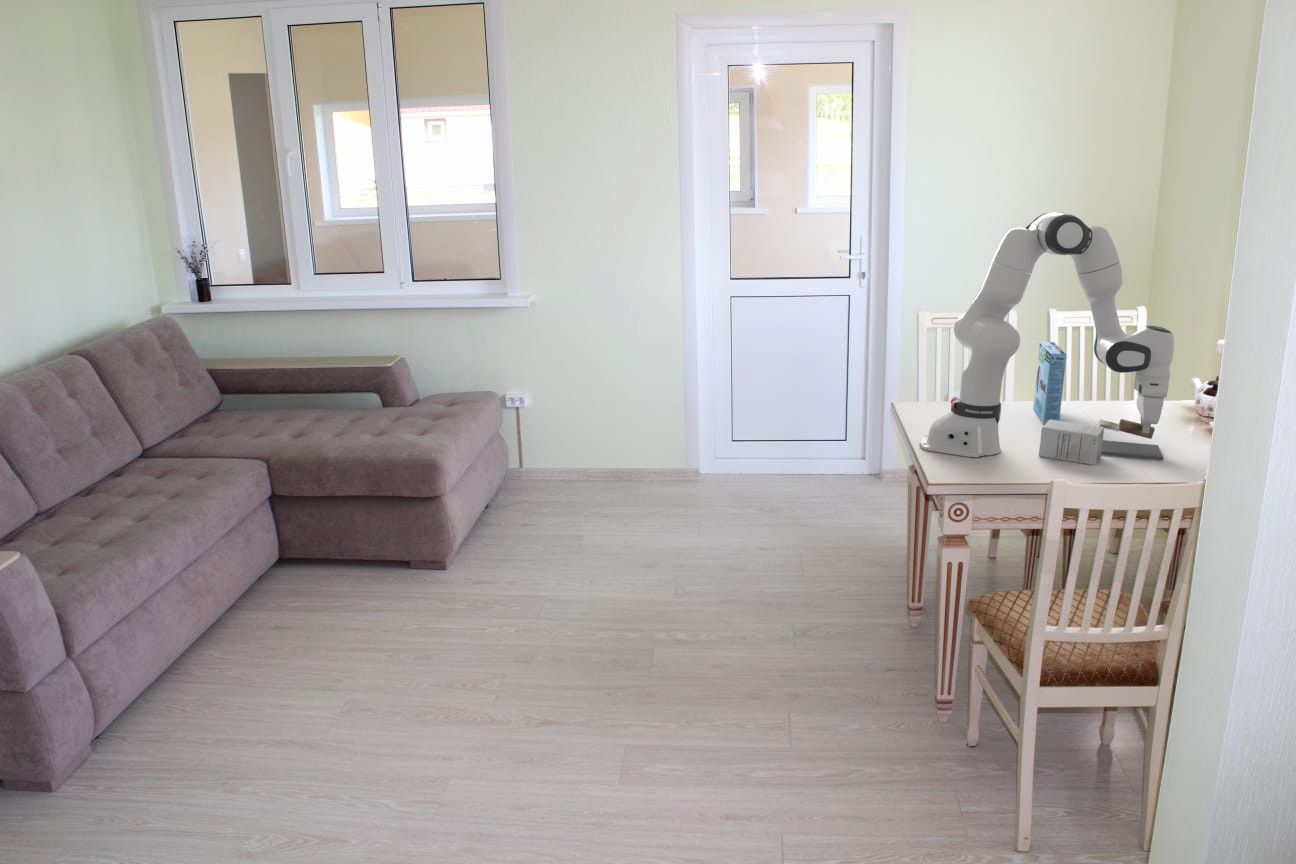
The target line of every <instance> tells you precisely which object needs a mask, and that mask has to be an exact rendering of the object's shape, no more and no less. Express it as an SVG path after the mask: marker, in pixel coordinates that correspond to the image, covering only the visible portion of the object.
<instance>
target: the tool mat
mask: <svg viewBox="0 0 1296 864" xmlns="http://www.w3.org/2000/svg"><path fill="white" fill-rule="evenodd" d="M1101 456H1110V457H1122V458H1131V459H1140V460H1141V459H1142V460H1151V461H1152V460H1153V461H1161V460H1164V455H1163V453H1162V451H1161V448H1160V446H1159V445H1158V444H1150V443H1137V442H1128V441H1115V440H1107V439H1106V440H1105V439H1103V441H1102V448H1101Z"/></svg>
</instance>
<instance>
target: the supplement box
mask: <svg viewBox="0 0 1296 864" xmlns="http://www.w3.org/2000/svg"><path fill="white" fill-rule="evenodd" d="M1104 431H1105V428H1104V427H1100V425H1099V426H1097V425H1092V424H1084V423H1075V422H1071V421H1070V422H1069V421H1061V420H1059V421H1056V420H1049V421H1048V422H1047V423H1045V424H1043V426H1042V427H1041V431H1040V442H1039V448H1038V449H1039V450H1038V456H1039V457H1042V456H1043V458H1048V457H1049V458H1050V459H1054V458H1055V459H1056V460H1060V459H1061V460H1062V461H1066V460H1067V462H1072V461H1074V462H1073V463H1078V462H1081V463H1080V464H1084V463H1086V465H1090V466H1094V465H1096V464H1097V462H1098V461H1099V459H1100V458H1101V456H1102V455H1101V448H1102V441H1103V440H1104Z"/></svg>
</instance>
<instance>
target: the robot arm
mask: <svg viewBox="0 0 1296 864" xmlns="http://www.w3.org/2000/svg"><path fill="white" fill-rule="evenodd" d="M1108 231H1109V230H1107V229H1106V228H1104V227H1101V226H1097V225H1096V226H1094V225H1093V226H1088V225H1086V223H1085V222H1084V221H1082V219H1080V218H1079V217H1077V216H1076V215H1072V214H1068V213H1067V214H1066V213H1064V212H1047V213H1043V214H1041V215H1039V216H1036V217H1035V218H1034V219H1033V220H1032V221H1031V222H1030V223H1029V224H1028V225H1027V226H1026V227H1025V228H1023V227H1016V228H1012V229H1010V230H1008V231H1007V233H1006V234H1005V235H1004V236H1003V238H1002V239H1001V242H1000V243H999V246H998V247H997V249H996V251H995V253H994V255H993V257H992V259H991V260H992V261H991V263H990V266H989V268H988V270H987V273H986V276H985V279H984V281H983V283H982V285H981V288H980V290H979V292H978V294H977V295H976V297H975V298H974V300H973V302H972V303H971V304H970V305H969V307H968V308H967V310H966V311H965V312H964V313H962V314H961V315H960V316H959V317H958V318H957V319H956V321H955V323H954V326H953V333H954V336H955V339H956V340H958V342H959V343H960V344H961V345H962V346H963V347H965V348H966V349H968V350H970V351H971V355H970V356H971V357H970V360H969V363H968V365H967V367H966V368H965V370H963V372H962V374H961V379H960V389H959V398H957V397H954V396H953V397H952V398H951V399H950V404H951V406H950V411H949V412H948V413H946V414H945V415H942V416H941V417H940V418H938V419H936V420H934V421H933V423H932V424H931V426H930V428H929V431H928V434H926V435H924V436H922V438H920V441H919V446H920V448H921V449H922V450H924V451H928V452H937V453H941V454H948V455H954V456H960V457H961V456H962V457H967V458H973V457H974V459H975V458H980V456H981V457H984V455H985V456H992V455H996V454H999V453H1000V452H1001V451H1002V449H1001V444H1000V437H999V422H1000V420H1001V414H1002V403H1001V402H1000V400H1001V393H1002V385H1003V384H1002V383H1003V378H1004V373H1005V370H1006V368H1007V365H1008V363H1009V361H1010V359H1011V357H1013V356H1014V355H1015V354H1016V353H1017V352H1018V349H1019V348H1020V345H1021V337H1020V334H1019V331H1018V330H1017V329H1016V328H1015V327H1014V326H1013V325H1012V324H1011V323H1010V322H1008V321H1006V317H1007V316H1008V314H1009V313H1010V312H1011V310H1012V309H1013V308H1014V307H1015V306H1016V305H1018V304H1020V303H1021V301H1022V299H1023V297H1024V294H1025V293H1026V292H1025V291H1026V289H1027V286H1028V283H1029V281H1030V278H1031V276H1032V274H1033V270H1034V268H1035V265H1036V263H1037V261H1038V260H1039V258H1040V257H1041V256H1043V254H1045V253H1047V254H1049V255H1050V254H1051V255H1061V256H1070V257H1071V259H1072V260H1073V263H1074V266H1075V269H1076V270H1075V271H1076V275H1077V279H1078V281H1079V284H1080V286H1081V288H1082V290H1083V293H1084V295H1085V296H1086V298H1087V301H1088V303H1089V306H1090V310H1091V313H1092V318H1093V323H1094V326H1095V333H1096V334H1095V339H1094V345H1093V352H1094V355H1095V357H1096V359H1097V360H1098V361H1099V362H1100V363H1102V364H1104V365H1105V366H1107V367H1108V368H1109V369H1110V370H1111V371H1113V372H1115V373H1122V374H1125V373H1134V380H1133V387H1132V388H1133V390H1135V391H1137V392H1136V393H1137V394H1136V395H1137V398H1136V407H1137V410H1138V412H1139V415H1140V424H1143V426H1142V432H1143V433H1149V430H1150V426H1151V427H1152V425H1157V424H1158V423H1159V422H1160V420H1161V415H1162V410H1163V407H1164V403H1165V402H1164V401H1165V398H1167V396H1168V392H1169V386H1170V380H1171V371H1170V367H1171V364H1172V362H1173V359H1174V349H1175V337H1174V333H1172V331H1170V330H1169V329H1167V328H1164V327H1162V326H1157V325H1145V326H1144V327H1143V328H1141V329H1140V330H1137V331H1135V332H1133V333H1130V334H1126V333H1125V331H1124V330H1123V329H1122V327H1121V325H1120V321H1119V316H1118V312H1117V306H1116V300H1115V299H1116V295H1117V293H1118V292H1119V291H1120V289H1121V287H1122V285H1123V271H1122V266H1121V264H1122V263H1121V261H1120V258H1119V255H1118V251H1117V249H1116V246H1115V243H1114V241H1113V239H1112V237H1111V235H1110V233H1109V232H1108Z"/></svg>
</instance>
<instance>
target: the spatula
mask: <svg viewBox="0 0 1296 864" xmlns="http://www.w3.org/2000/svg"><path fill="white" fill-rule="evenodd" d="M1098 423H1099V427H1104V429H1107V430H1111V431H1114V432H1122V433H1126V434H1131V435H1135V436H1137V437H1142V438H1145V439H1150V440H1152V438H1153V435H1154V433H1155V430H1156V429H1155V427H1153V426H1152V425H1151V426H1150V430H1149V433H1143V432H1142V426H1143V424H1141V423H1139V422H1136V421H1130V420H1127V419H1124V418H1120V421H1119V423H1116V422H1112V421H1110V420H1109V421H1108V420H1105V419H1101V418H1100V419H1099V421H1098Z"/></svg>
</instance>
